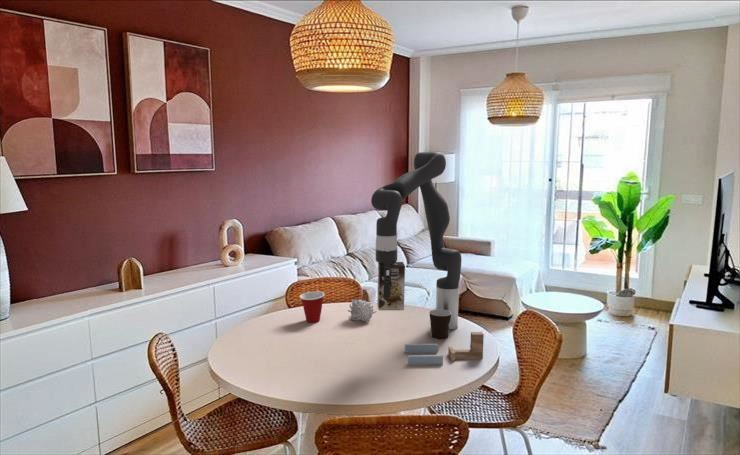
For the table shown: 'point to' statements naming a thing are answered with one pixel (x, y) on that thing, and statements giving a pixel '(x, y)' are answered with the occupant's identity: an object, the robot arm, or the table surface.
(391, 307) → the coffee box
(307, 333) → the table surface
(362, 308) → the sea urchin
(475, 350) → the wooden t-shaped piece
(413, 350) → the acrylic channel
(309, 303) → the plastic cup
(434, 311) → the coffee mug
